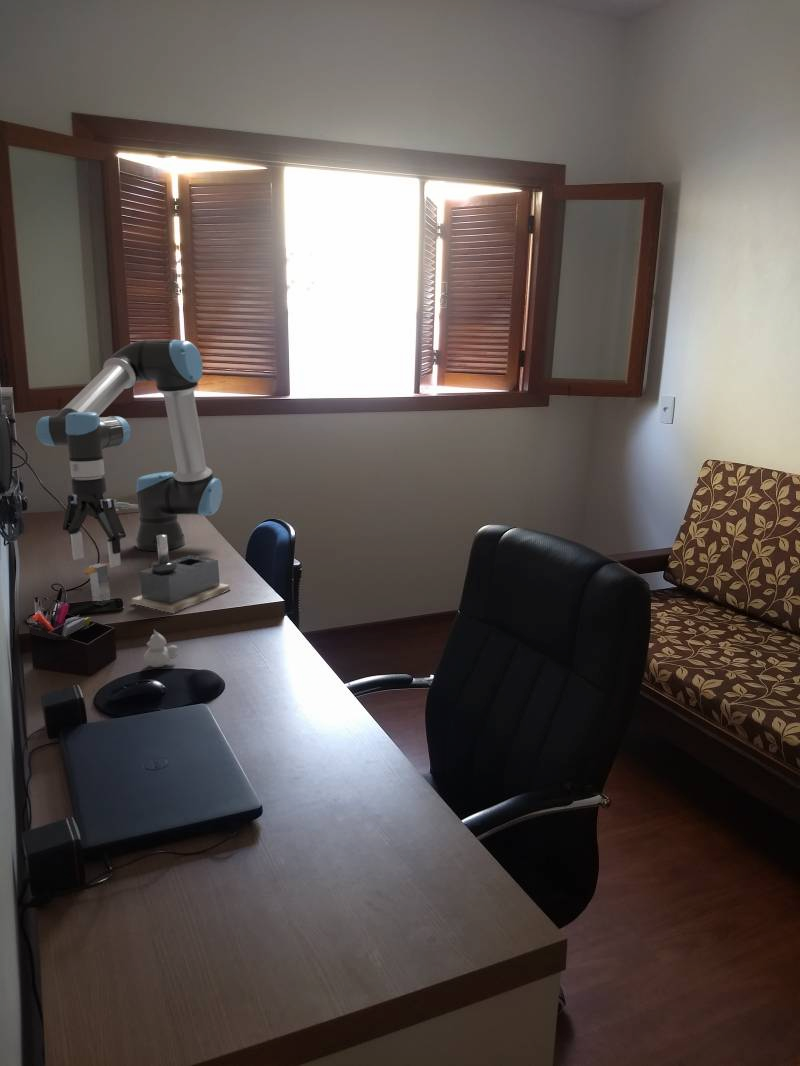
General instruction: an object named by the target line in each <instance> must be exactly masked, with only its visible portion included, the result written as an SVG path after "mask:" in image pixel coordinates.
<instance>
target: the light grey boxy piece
mask: <svg viewBox="0 0 800 1066" xmlns="http://www.w3.org/2000/svg"><path fill="white" fill-rule="evenodd" d="M110 568H111V567H110V564H109V561H108V562H105V563H95V564H92V565H89V566H88V568H84V570H83V571H84V574H85V575H87V576H88V575H89V580H90V581H89V583H90V589H91V597H92V602H93V601H103V600H110V599H111V600H112V598H111V591H110V590H111V589H110V581H109V572H108V569H110Z"/></svg>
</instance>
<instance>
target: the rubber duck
mask: <svg viewBox="0 0 800 1066" xmlns="http://www.w3.org/2000/svg"><path fill="white" fill-rule="evenodd" d="M146 645H147V646H148V649H147V651H146V652H145V653H144V654H143V660H144V662H145V663H146V664H147V665H149V666H150V667H152V668H161V667H162V668H163V667H165V666H166V665H167V664H168V663H170V661H171V660H173V659H177V658H178V653H177V652H178V646H177V645H174V644H172V645H168V646H166V645H167V640H166V637H164V635H162V634H161V633H160V632H158V631H156V630H155V629H153V633H152V635H151V636H150V638H149V641H148V642H146Z"/></svg>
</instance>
